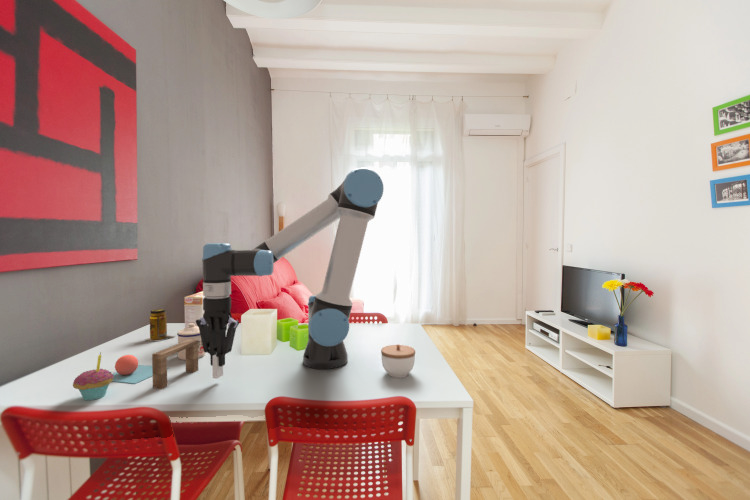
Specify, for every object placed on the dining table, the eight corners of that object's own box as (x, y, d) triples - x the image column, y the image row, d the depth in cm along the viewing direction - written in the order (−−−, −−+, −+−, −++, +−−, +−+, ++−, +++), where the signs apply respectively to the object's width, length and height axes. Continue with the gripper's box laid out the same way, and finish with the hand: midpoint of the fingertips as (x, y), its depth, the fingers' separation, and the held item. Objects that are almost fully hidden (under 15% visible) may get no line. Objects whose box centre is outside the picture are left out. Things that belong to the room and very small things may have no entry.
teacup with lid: (197, 361, 128) (196, 327, 127) (171, 360, 128) (171, 326, 128) (214, 350, 139) (214, 319, 139) (191, 349, 140) (191, 318, 140)
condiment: (145, 339, 153) (144, 310, 152) (165, 334, 160) (164, 307, 160) (156, 342, 149) (155, 312, 149) (176, 337, 157) (175, 308, 156)
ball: (127, 371, 118) (143, 371, 117) (110, 378, 112) (127, 377, 111) (125, 353, 118) (142, 352, 117) (109, 358, 112) (125, 357, 111)
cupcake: (120, 390, 104) (119, 347, 103) (99, 403, 95) (98, 357, 95) (89, 390, 103) (88, 347, 103) (64, 404, 95) (63, 357, 94)
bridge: (198, 370, 119) (198, 340, 119) (161, 388, 105) (161, 354, 104) (190, 369, 120) (189, 339, 119) (152, 387, 105) (152, 353, 105)
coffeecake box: (203, 336, 158) (203, 290, 157) (220, 336, 158) (219, 290, 157) (184, 347, 143) (183, 296, 142) (202, 347, 143) (201, 296, 142)
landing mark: (169, 368, 120) (169, 367, 120) (135, 384, 108) (135, 383, 108) (135, 364, 123) (135, 364, 123) (98, 379, 111) (98, 379, 111)
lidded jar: (375, 370, 121) (376, 341, 120) (405, 366, 124) (406, 338, 124) (388, 382, 111) (389, 351, 110) (420, 378, 114) (421, 347, 114)
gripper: (188, 297, 106) (189, 379, 107) (229, 299, 103) (230, 383, 104) (206, 293, 113) (206, 370, 114) (244, 295, 110) (245, 373, 111)
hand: (217, 376), depth 109 cm, fingers closed
